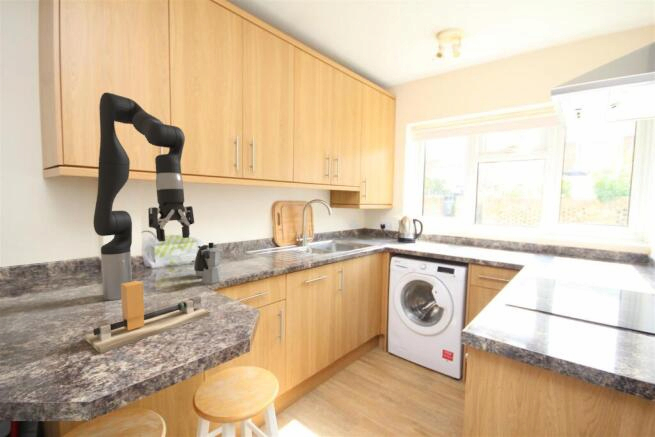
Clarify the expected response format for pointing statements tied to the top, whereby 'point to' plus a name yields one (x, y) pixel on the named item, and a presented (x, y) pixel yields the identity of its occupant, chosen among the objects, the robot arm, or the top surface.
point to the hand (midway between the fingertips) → (174, 239)
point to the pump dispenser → (199, 261)
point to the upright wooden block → (132, 304)
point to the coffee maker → (211, 265)
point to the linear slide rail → (146, 325)
